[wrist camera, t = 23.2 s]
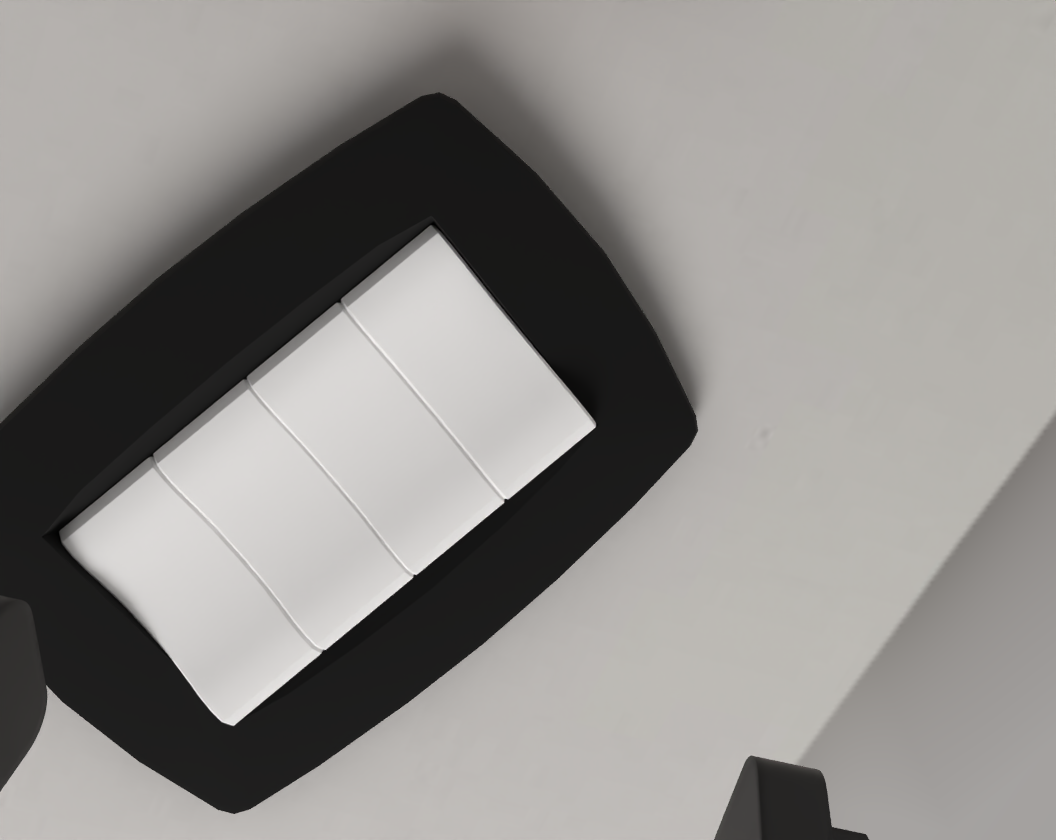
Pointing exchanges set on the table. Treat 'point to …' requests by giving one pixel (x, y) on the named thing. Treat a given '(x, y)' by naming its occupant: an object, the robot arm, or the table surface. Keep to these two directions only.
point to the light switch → (330, 456)
